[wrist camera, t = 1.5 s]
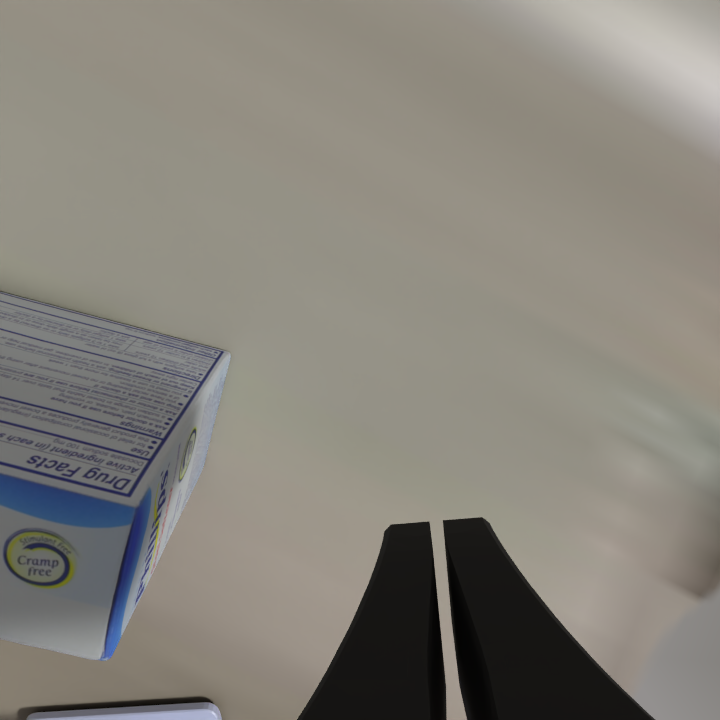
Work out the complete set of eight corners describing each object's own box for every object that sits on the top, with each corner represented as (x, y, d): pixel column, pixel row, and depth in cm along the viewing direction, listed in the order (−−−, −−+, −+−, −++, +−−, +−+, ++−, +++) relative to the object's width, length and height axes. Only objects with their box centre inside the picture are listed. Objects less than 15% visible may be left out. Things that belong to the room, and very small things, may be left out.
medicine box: (-26, 404, 21) (-275, 586, 13) (-18, 277, 20) (-297, 397, 12) (209, 464, 22) (107, 676, 14) (235, 346, 20) (138, 507, 12)
